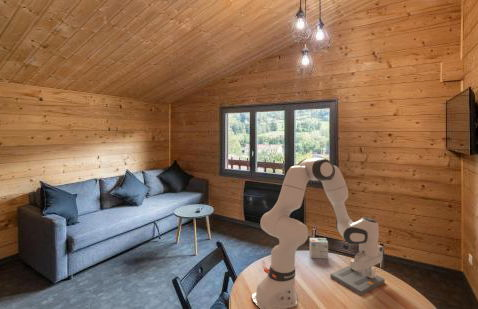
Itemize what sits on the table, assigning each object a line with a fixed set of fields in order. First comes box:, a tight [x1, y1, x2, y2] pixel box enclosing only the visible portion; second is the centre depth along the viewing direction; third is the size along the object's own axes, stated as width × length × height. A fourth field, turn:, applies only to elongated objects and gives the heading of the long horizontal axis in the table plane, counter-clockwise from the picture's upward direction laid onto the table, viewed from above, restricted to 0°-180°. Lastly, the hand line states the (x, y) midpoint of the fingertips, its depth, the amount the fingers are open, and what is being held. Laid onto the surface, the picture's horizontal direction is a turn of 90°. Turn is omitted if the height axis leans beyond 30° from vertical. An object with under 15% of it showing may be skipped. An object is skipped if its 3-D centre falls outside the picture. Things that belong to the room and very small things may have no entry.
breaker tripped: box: [366, 266, 377, 279], centre depth 134 cm, size 3×4×4 cm
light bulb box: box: [308, 237, 329, 259], centre depth 161 cm, size 11×7×11 cm, turn 84°
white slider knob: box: [349, 258, 356, 271], centre depth 142 cm, size 3×4×4 cm
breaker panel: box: [329, 265, 386, 296], centre depth 135 cm, size 20×18×2 cm
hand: (367, 274), depth 133 cm, fingers closed
